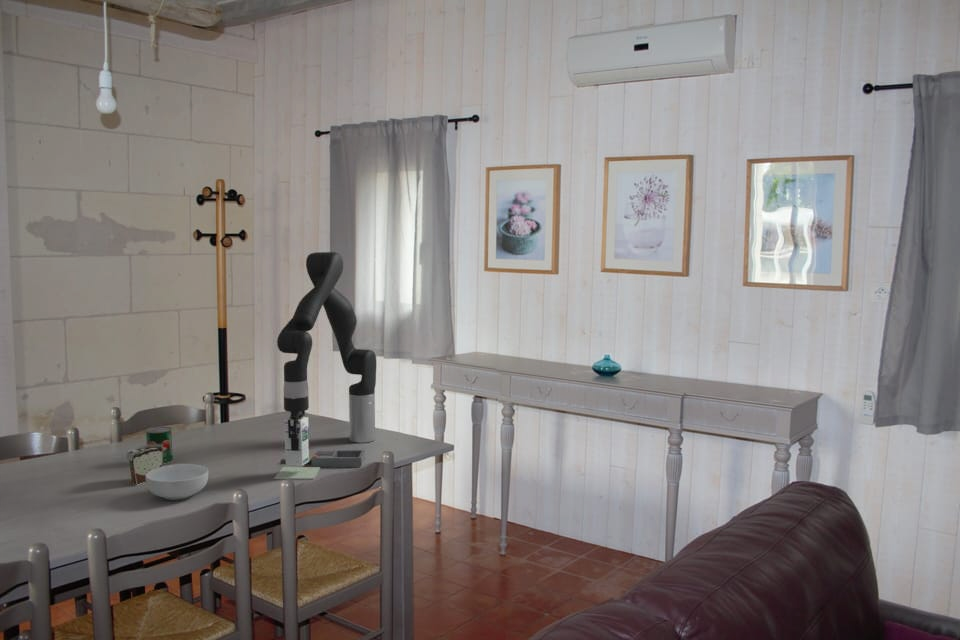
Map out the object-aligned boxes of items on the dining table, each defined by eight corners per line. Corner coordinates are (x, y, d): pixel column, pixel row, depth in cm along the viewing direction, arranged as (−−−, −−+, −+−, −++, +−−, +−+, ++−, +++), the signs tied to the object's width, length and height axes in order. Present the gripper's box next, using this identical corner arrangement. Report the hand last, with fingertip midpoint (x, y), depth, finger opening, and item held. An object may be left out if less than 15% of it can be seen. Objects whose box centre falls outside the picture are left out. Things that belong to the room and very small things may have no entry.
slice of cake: (151, 473, 257) (150, 442, 256) (165, 476, 254) (164, 444, 253) (118, 484, 246) (116, 451, 245) (132, 487, 243) (131, 454, 242)
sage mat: (282, 468, 263) (282, 467, 263) (320, 468, 263) (320, 466, 263) (274, 479, 251) (274, 478, 251) (313, 479, 251) (313, 478, 251)
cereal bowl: (135, 504, 228) (134, 480, 227) (161, 486, 244) (160, 463, 244) (195, 505, 227) (194, 480, 226) (217, 487, 244) (216, 464, 243)
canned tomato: (166, 457, 276) (165, 425, 275) (177, 462, 270) (175, 429, 269) (143, 461, 270) (141, 429, 269) (153, 466, 265) (151, 433, 263)
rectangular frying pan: (283, 458, 274) (283, 448, 273) (365, 458, 274) (365, 448, 274) (276, 467, 264) (276, 457, 264) (361, 467, 264) (361, 456, 264)
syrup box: (302, 466, 253) (301, 420, 252) (284, 465, 255) (283, 419, 253) (310, 461, 259) (309, 416, 257) (292, 460, 260) (291, 415, 259)
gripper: (288, 390, 262) (290, 441, 263) (278, 399, 247) (279, 453, 249) (312, 390, 262) (313, 441, 263) (303, 399, 247) (304, 453, 249)
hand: (297, 447), depth 256 cm, fingers closed on syrup box, 6 cm apart
